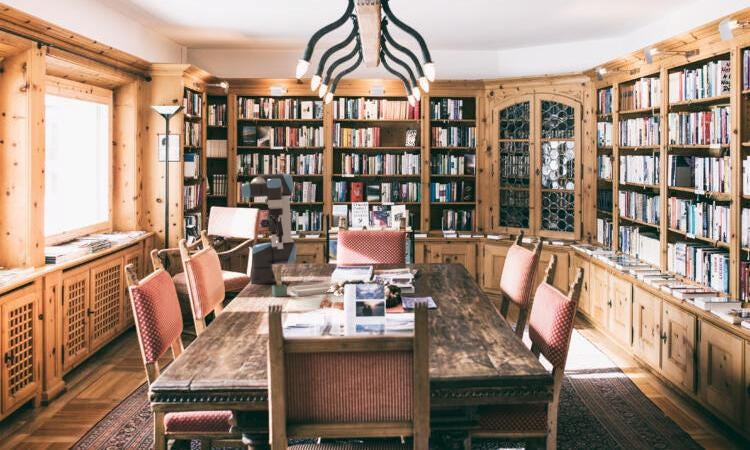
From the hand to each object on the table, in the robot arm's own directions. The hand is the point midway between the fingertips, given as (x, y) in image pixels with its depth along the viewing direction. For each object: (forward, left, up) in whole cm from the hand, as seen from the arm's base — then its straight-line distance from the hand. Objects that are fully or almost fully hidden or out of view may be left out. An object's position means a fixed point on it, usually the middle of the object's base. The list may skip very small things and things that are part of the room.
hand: (277, 247), depth 366 cm
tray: (+1, +19, -26) cm, 32 cm away
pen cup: (0, 0, -26) cm, 26 cm away
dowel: (0, 0, -26) cm, 26 cm away
